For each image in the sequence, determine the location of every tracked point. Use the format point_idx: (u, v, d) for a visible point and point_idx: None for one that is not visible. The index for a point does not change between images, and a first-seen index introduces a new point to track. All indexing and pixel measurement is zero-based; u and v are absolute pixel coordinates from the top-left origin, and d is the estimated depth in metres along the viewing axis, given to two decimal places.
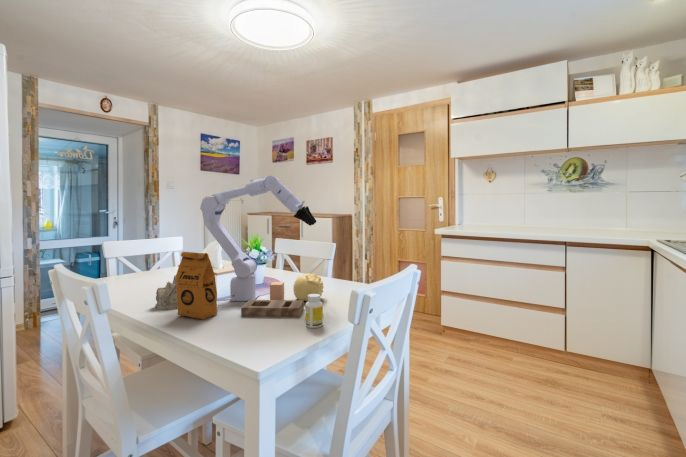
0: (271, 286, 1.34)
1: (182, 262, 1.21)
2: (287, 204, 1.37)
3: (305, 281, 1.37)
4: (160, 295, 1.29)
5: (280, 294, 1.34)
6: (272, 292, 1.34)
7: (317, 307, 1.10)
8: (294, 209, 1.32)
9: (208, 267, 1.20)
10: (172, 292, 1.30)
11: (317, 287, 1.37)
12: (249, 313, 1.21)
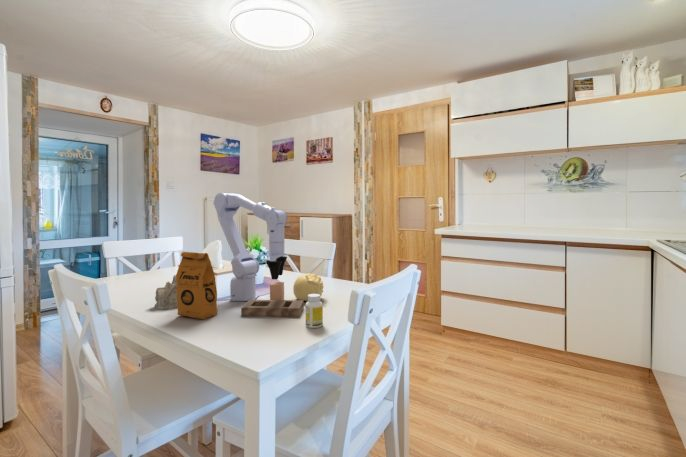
0: (271, 286, 1.34)
1: (182, 262, 1.21)
2: (271, 245, 1.32)
3: (305, 281, 1.37)
4: (159, 295, 1.29)
5: (280, 294, 1.34)
6: (272, 292, 1.34)
7: (317, 307, 1.10)
8: (271, 258, 1.28)
9: (208, 267, 1.20)
10: (171, 292, 1.30)
11: (317, 287, 1.37)
12: (249, 313, 1.21)
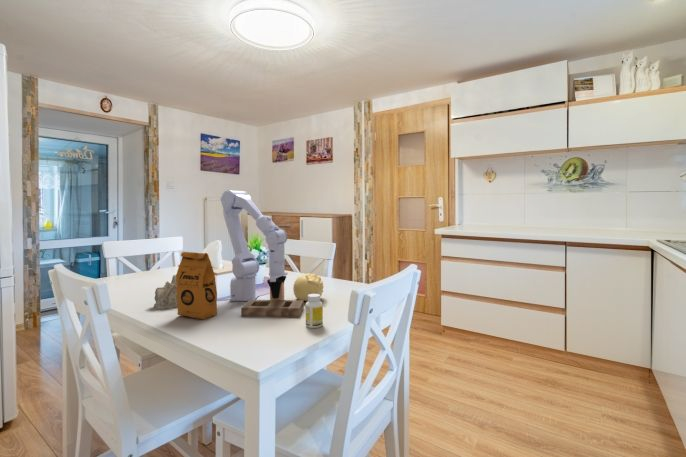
0: None
1: (182, 262, 1.21)
2: (271, 265, 1.33)
3: (305, 281, 1.37)
4: (159, 295, 1.29)
5: (280, 294, 1.34)
6: None
7: (317, 307, 1.10)
8: (271, 278, 1.28)
9: (208, 267, 1.20)
10: (171, 292, 1.31)
11: (317, 287, 1.37)
12: (249, 313, 1.21)
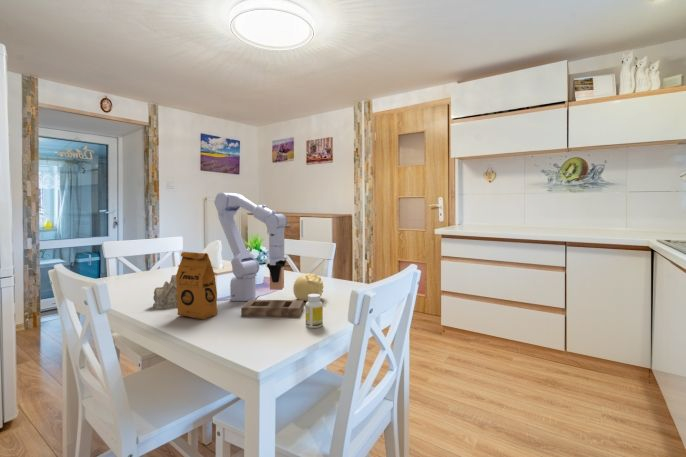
0: None
1: (182, 262, 1.21)
2: (271, 249, 1.32)
3: (305, 281, 1.37)
4: (158, 295, 1.29)
5: (280, 278, 1.33)
6: None
7: (317, 307, 1.10)
8: (271, 262, 1.28)
9: (208, 267, 1.20)
10: (170, 292, 1.31)
11: (317, 287, 1.37)
12: (249, 313, 1.21)
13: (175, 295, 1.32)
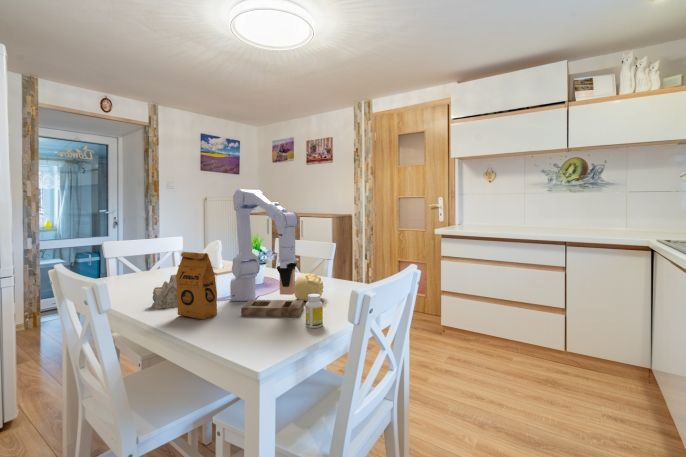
0: None
1: (182, 262, 1.21)
2: (281, 251, 1.22)
3: (305, 281, 1.37)
4: (157, 294, 1.29)
5: (291, 282, 1.23)
6: None
7: (317, 307, 1.10)
8: (281, 264, 1.17)
9: (208, 267, 1.20)
10: (169, 291, 1.31)
11: (317, 287, 1.37)
12: (249, 313, 1.21)
13: (174, 295, 1.32)
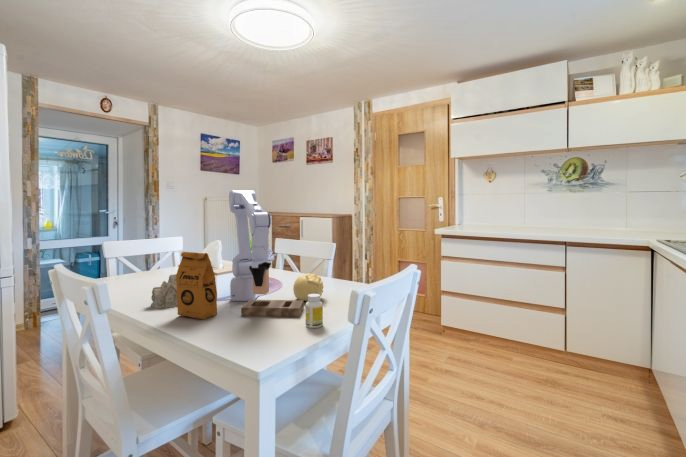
0: None
1: (182, 262, 1.21)
2: (254, 250, 1.22)
3: (305, 281, 1.37)
4: (156, 294, 1.29)
5: (264, 282, 1.23)
6: None
7: (317, 307, 1.10)
8: (253, 264, 1.17)
9: (208, 267, 1.20)
10: (168, 291, 1.31)
11: (317, 287, 1.37)
12: (249, 313, 1.21)
13: (173, 295, 1.33)
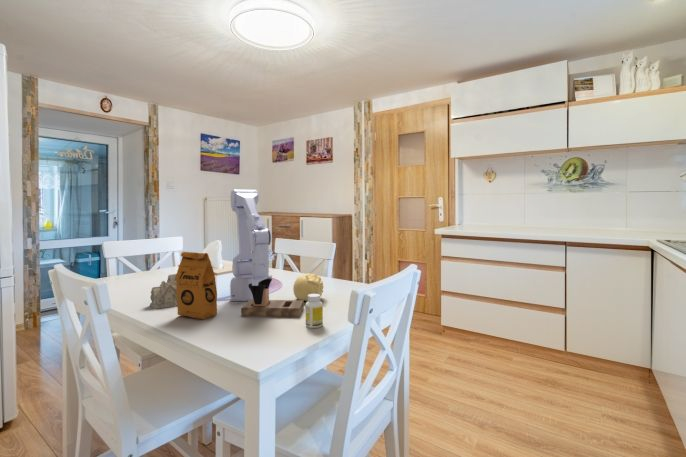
0: None
1: (182, 262, 1.21)
2: (254, 268, 1.22)
3: (305, 281, 1.37)
4: (155, 294, 1.30)
5: (264, 302, 1.23)
6: None
7: (317, 307, 1.10)
8: (253, 282, 1.18)
9: (208, 267, 1.20)
10: (167, 291, 1.32)
11: (317, 287, 1.37)
12: (249, 313, 1.21)
13: (172, 294, 1.33)
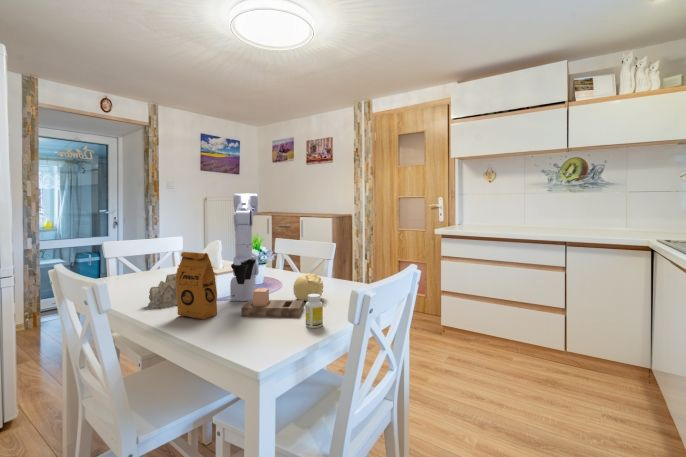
0: (254, 293, 1.23)
1: (182, 262, 1.21)
2: (237, 248, 1.24)
3: (305, 281, 1.37)
4: (153, 294, 1.30)
5: (264, 302, 1.23)
6: (255, 299, 1.23)
7: (317, 307, 1.10)
8: (236, 261, 1.20)
9: (208, 267, 1.20)
10: (165, 291, 1.32)
11: (317, 287, 1.37)
12: (249, 313, 1.21)
13: (171, 294, 1.33)
